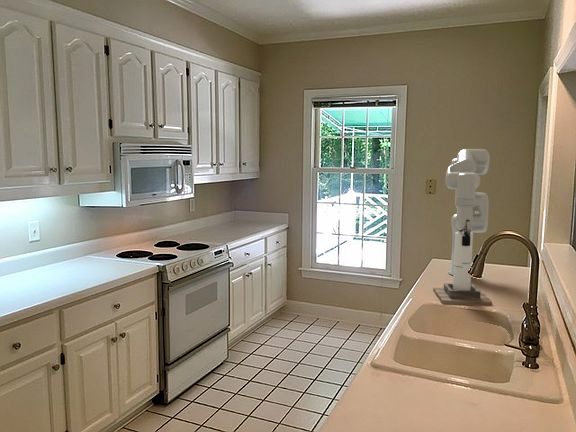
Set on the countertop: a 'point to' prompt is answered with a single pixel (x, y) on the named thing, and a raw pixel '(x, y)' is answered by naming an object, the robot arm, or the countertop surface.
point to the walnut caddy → (461, 296)
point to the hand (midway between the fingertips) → (463, 243)
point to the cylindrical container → (462, 263)
